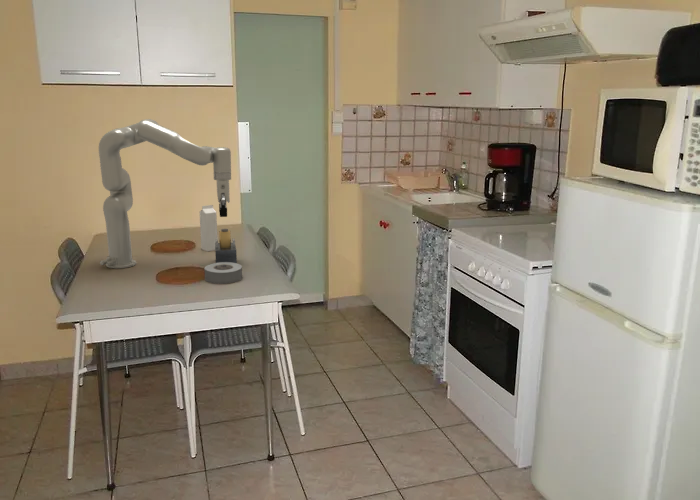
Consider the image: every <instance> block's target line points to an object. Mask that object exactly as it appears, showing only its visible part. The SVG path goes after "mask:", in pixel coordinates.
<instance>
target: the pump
mask: <svg viewBox="0 0 700 500" xmlns="http://www.w3.org/2000/svg"><path fill="white" fill-rule="evenodd" d="M218 237H219V238H218V240H219V241H218V243H220V247H221V248H228V247H231V243H232V238H231V237H232V235H231V230H229V229H228V228H222V229H220V230H219V231H218Z"/></svg>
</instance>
